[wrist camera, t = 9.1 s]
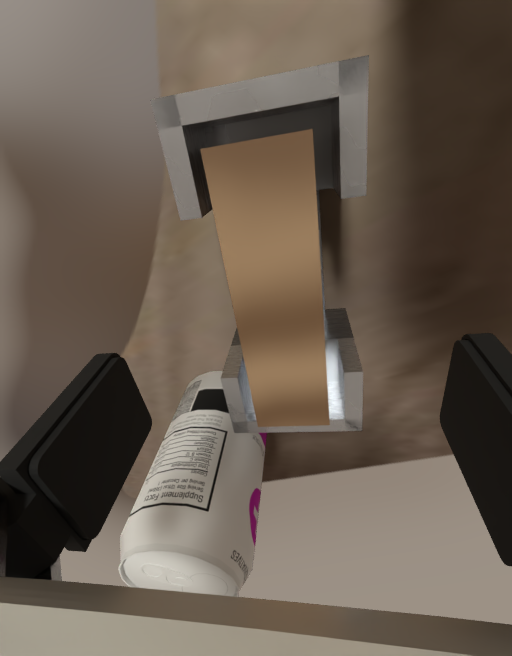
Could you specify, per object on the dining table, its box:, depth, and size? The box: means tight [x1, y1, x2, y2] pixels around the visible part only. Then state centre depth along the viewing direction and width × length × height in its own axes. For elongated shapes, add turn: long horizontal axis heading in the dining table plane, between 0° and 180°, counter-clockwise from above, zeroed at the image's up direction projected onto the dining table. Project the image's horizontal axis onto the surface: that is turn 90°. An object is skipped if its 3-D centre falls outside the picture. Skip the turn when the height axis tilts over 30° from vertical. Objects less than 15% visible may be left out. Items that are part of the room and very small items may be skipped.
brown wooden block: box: [200, 129, 330, 427], centre depth 17 cm, size 14×4×5 cm, turn 9°
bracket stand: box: [150, 55, 369, 433], centre depth 20 cm, size 19×8×8 cm, turn 8°
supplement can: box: [118, 371, 267, 597], centre depth 25 cm, size 8×8×15 cm
